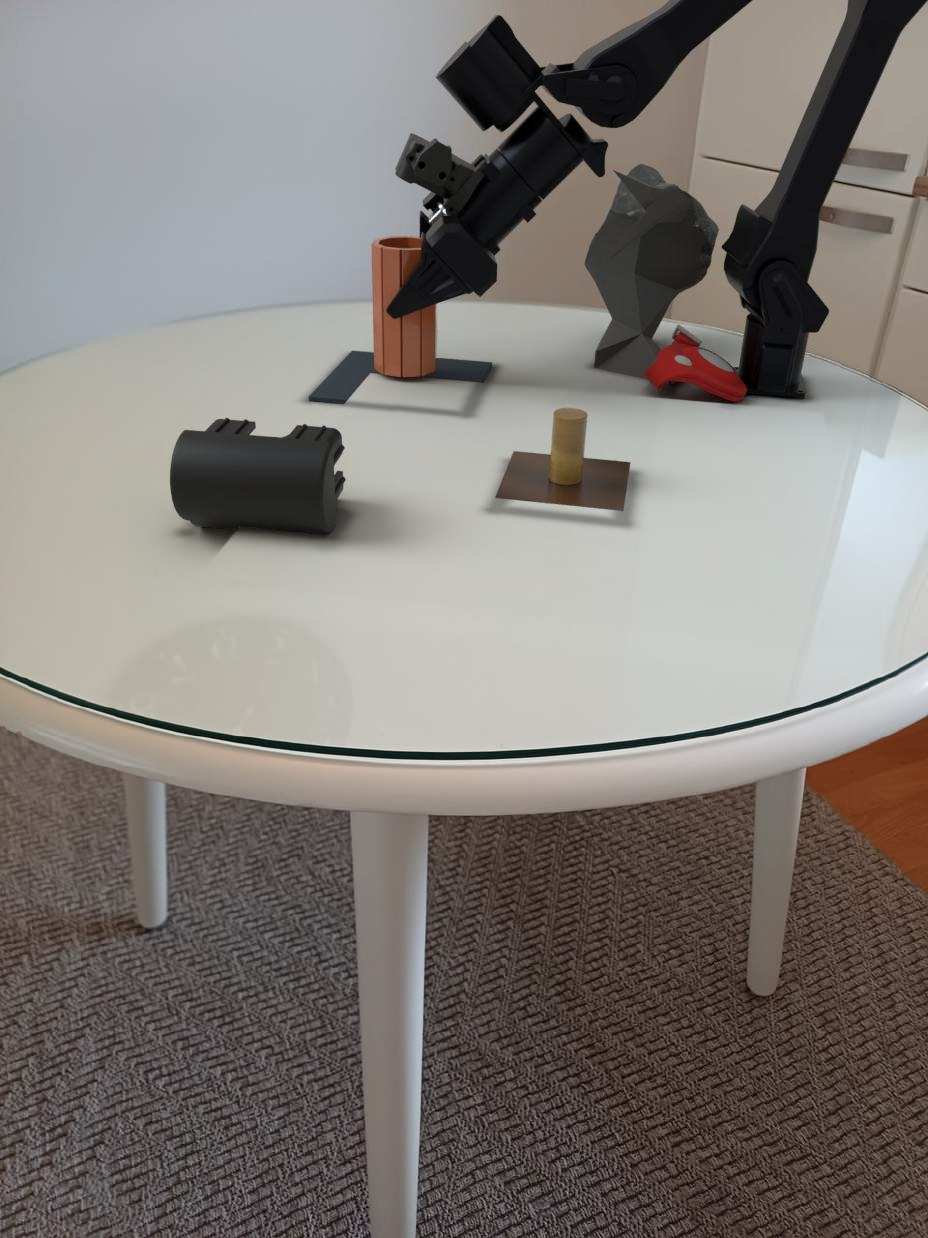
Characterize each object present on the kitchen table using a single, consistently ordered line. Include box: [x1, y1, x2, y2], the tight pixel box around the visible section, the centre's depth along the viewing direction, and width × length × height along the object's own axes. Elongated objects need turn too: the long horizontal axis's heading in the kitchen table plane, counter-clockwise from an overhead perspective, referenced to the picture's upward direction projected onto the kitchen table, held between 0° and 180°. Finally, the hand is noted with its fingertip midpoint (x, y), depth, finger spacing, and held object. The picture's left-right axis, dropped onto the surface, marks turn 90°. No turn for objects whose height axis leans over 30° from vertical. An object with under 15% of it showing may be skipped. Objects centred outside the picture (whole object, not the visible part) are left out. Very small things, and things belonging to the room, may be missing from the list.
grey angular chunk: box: [584, 163, 720, 385], centre depth 106 cm, size 14×15×18 cm
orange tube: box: [370, 235, 438, 378], centre depth 96 cm, size 6×6×11 cm
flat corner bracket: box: [308, 350, 493, 405], centre depth 100 cm, size 14×14×1 cm
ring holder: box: [494, 407, 631, 512], centre depth 78 cm, size 9×9×6 cm
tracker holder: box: [644, 324, 747, 403], centre depth 100 cm, size 12×4×10 cm
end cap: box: [169, 417, 347, 535], centre depth 71 cm, size 10×7×7 cm
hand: (390, 305), depth 96 cm, fingers closed on orange tube, 6 cm apart
